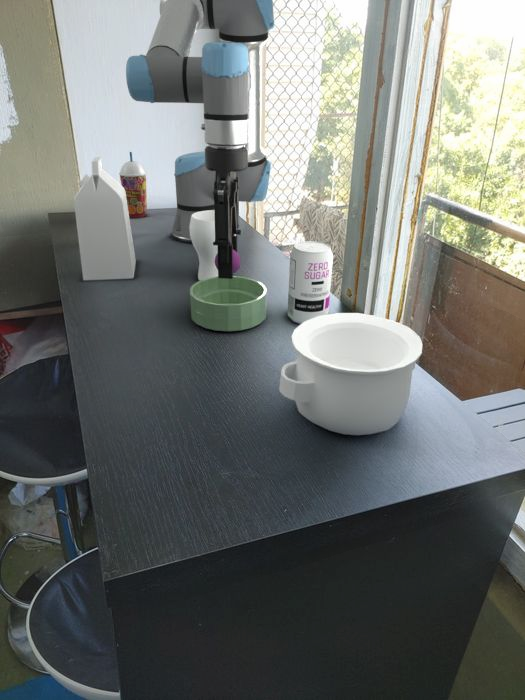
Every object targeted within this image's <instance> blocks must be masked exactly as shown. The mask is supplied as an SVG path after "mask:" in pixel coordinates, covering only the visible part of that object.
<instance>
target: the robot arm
mask: <svg viewBox="0 0 525 700" xmlns="http://www.w3.org/2000/svg"><path fill="white" fill-rule="evenodd" d="M159 14H160V16H159V18H158V21H157V25H156V27H155V30H154V33H153V35H152V38H151V41H150V44H149V47H148V48H147V52H146V54H139V55H131V56H129V57H128V58H127V60H126V64H125V78H126V79H125V80H126V86H127V90H128V93H129V96H130V97H131V99H132V100H134V101H135V102H144V103H150V104H154V103H157V104H159V103H160V104H161V103H165V104H168V103H169V104H172V103H174V104H203V118H204V119H203V123H202V124H201V125H200V129H201V130H202V131H204V143H205V144H207V146H205V148H204V150H203V151H195V152H189V153H185V154H182V155H180V156H178V157H176V159H175V161H174V174H173V176H174V177H175V178H174V180H175V182H174V183H175V196H176V197H175V198H176V214H175V216H174V221H173V225H172V230H171V231H172V232H171V234H172V238H173V239H174V240H176V241H179V242H181V243H182V242H183V243H189V244H193V243H192V240H191V237H190V229H189V226H190V220H191V216H192V214H194V213H196V212H200V211H208V210H214V211H215V242H213V245H218V278H225V279H232V278H233V276H234V273H233V250H235V251H236V252H237V253H238V235H239V236H240V235H241V233H242V229H239V228H240V223H239V202H241V203H243V202H245V203H252V202H262V201H264V200H265V199H266V197H267V193H268V188H269V183H270V173H271V168H272V159H271V158H268V157H267V152H266V150H265V149H264V148H263V147H262V146H261V143H262V142H261V141H262V139H261V137H262V135H261V134H262V133H261V131H262V54H263V53H262V52H263V51H262V48H263V46H264V45H265V44H266V42H267V41H268V40H269V32H273V31H274V30H275V16H274V3H273V0H160V2H159ZM199 30H218V38H219V41H220V42H217V41H216V42H215V41H213V42H206V43H204V44H203V46H202V48H201V56H189V55H190V52H191V48H192V45H193V41H194V37H195V33H197V32H198V31H199ZM235 234H236V236H235Z"/></svg>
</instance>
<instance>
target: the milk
mask: <svg viewBox="0 0 525 700" xmlns="http://www.w3.org/2000/svg"><path fill="white" fill-rule="evenodd" d="M78 185H79V186H81V187H80V188H79V189H78V191H77V192H76V194H75V195H74V197H73V198H74V200H73V206H74V213H75V223H76V230H77V239H78V247H79V255H80V265H81V272H82V274H81V275H82V281H105V280H124V279H125V280H128V279H134V277H135V271H136V263H137V260H136V253H135V247H134V241H133V233H132V227H131V219H130V217H129V212H128V206H127V199H126V193H125V189H124V188H123V186H122V185H121V182H119V181H118V180H117V179H115V178H114V177H112V175H111V174H109V173H108V172H107V171H105V169H103V161H102V157H98V156H97V157H96V156H95V157H94V158H93V159H92V161H91V174H90V176H89V175H88V174H85V175H84V176H83V177H82V178H81V180H80V182H79V183H78Z"/></svg>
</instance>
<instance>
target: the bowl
mask: <svg viewBox="0 0 525 700" xmlns="http://www.w3.org/2000/svg"><path fill="white" fill-rule="evenodd" d="M188 291H189V306H190V307H189V308H190V318H191V320H192V321H193V322H194V323H195V324H196V325H198V326H200V327H202V328H204V329H208V330H213V331H219V332H237V331H244V330H248V329H252V328H254V327H257V326H258V325H260V324H262V323H263V322H264V321H265V320H266V317H267V308H268V307H267V306H268V305H267V303H268V289H267V287H266V285H265V284H263V282H261V281H259V280H256V279H253V278H251V277H245V276H239V275H233V278H232V279H225V278H218V276H217V277H211V278H206V279H203V280H201V281H200V280H198V281H196V282H195V283H193V284H192V285H191V286H190V288H189V290H188Z"/></svg>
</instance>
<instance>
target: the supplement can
mask: <svg viewBox="0 0 525 700" xmlns="http://www.w3.org/2000/svg"><path fill="white" fill-rule="evenodd" d="M333 261H334V254H333V251H332V247H331V245H329V244H327V243H325V242H321V241H315V240H304V241H298V242H296V243H295V244H294V245H293V248H292V250H291V251H290V253H289V273H288V275H289V276H288V292H287V293H288V294H287V295H288V298H287V316H288V317H289V318H290V320H291V321H292V322H293V323H297V324H299V325H301V324H302V323H303V322H305V321H307V320H310V319H312V318H315V317H317V316H321V315H328V314H329V309H330V298H331V285H332V276H333V263H334V262H333Z"/></svg>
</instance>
